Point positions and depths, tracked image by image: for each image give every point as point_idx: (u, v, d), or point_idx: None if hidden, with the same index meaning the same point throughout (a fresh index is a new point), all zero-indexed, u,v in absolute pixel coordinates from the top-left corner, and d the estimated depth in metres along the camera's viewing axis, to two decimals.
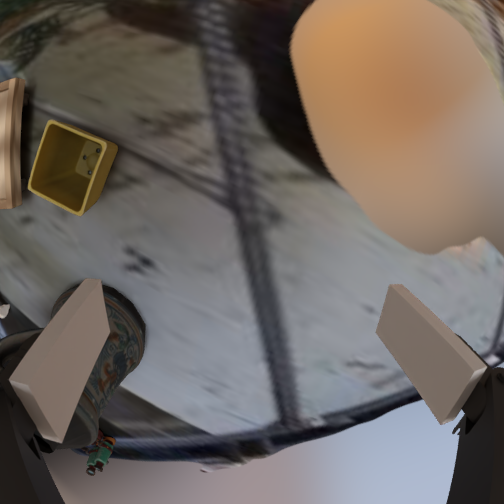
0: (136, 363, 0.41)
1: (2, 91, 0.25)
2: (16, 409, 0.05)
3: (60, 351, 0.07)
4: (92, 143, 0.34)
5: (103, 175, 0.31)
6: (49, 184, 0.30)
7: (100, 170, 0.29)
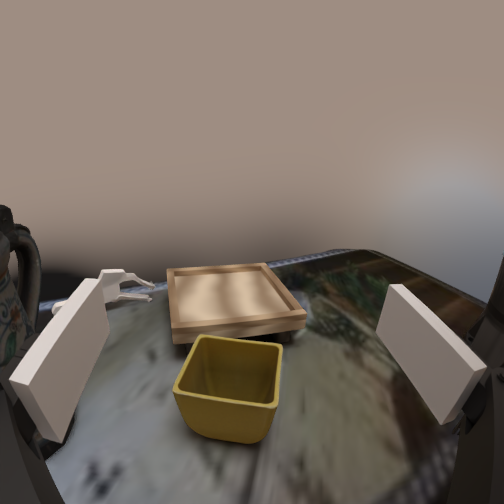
0: None
1: (289, 307, 0.43)
2: (16, 409, 0.05)
3: (60, 351, 0.07)
4: None
5: (225, 423, 0.23)
6: (202, 366, 0.30)
7: (236, 411, 0.22)
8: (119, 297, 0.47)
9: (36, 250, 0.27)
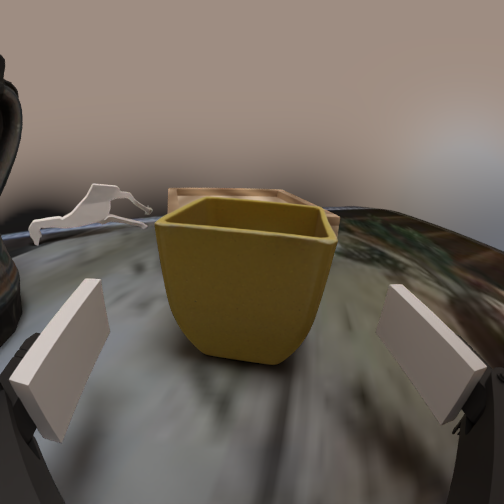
0: None
1: None
2: (16, 409, 0.05)
3: (60, 351, 0.07)
4: None
5: (241, 298, 0.15)
6: None
7: (263, 259, 0.14)
8: (109, 218, 0.40)
9: (20, 113, 0.19)
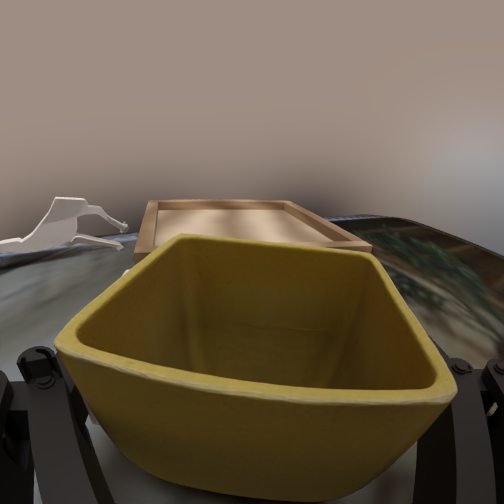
0: None
1: (339, 241, 0.26)
2: (73, 398, 0.06)
3: None
4: None
5: (246, 471, 0.06)
6: (181, 312, 0.13)
7: (298, 437, 0.05)
8: (76, 238, 0.31)
9: None
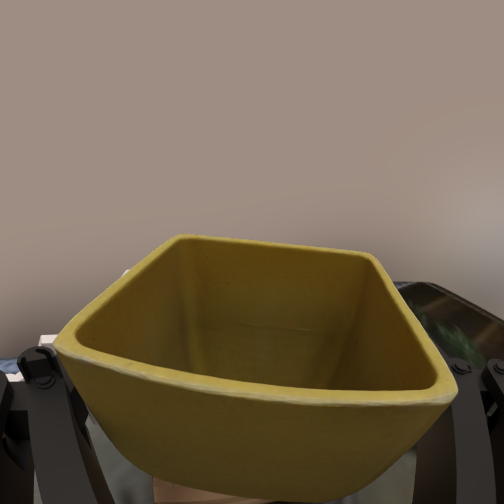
0: None
1: None
2: (73, 398, 0.06)
3: None
4: None
5: (246, 472, 0.06)
6: (181, 313, 0.13)
7: (299, 438, 0.05)
8: None
9: None
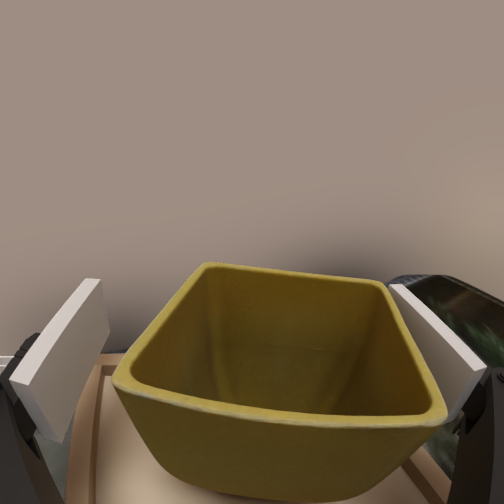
0: None
1: (426, 495, 0.09)
2: (16, 409, 0.05)
3: (60, 351, 0.07)
4: None
5: (272, 478, 0.07)
6: (207, 334, 0.14)
7: (320, 451, 0.06)
8: None
9: None
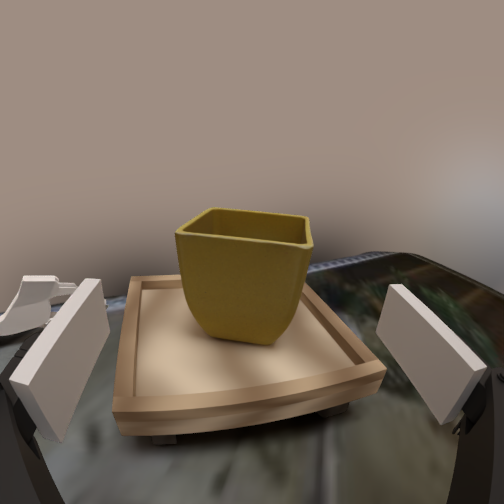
0: None
1: (349, 354, 0.21)
2: (16, 409, 0.05)
3: (60, 351, 0.07)
4: None
5: (240, 289, 0.19)
6: None
7: (257, 260, 0.18)
8: None
9: None
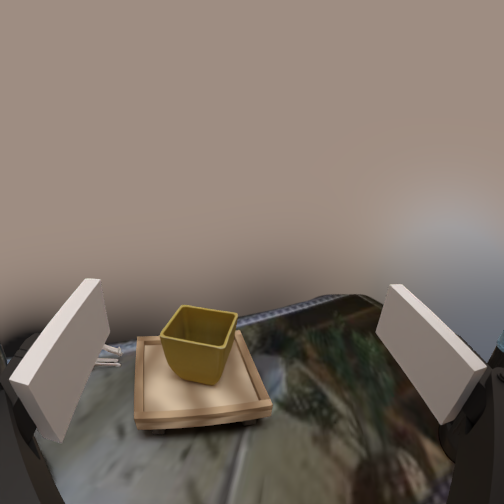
0: None
1: (256, 393, 0.38)
2: (16, 409, 0.05)
3: (60, 351, 0.07)
4: None
5: (193, 362, 0.36)
6: (183, 327, 0.43)
7: (199, 351, 0.35)
8: None
9: None
